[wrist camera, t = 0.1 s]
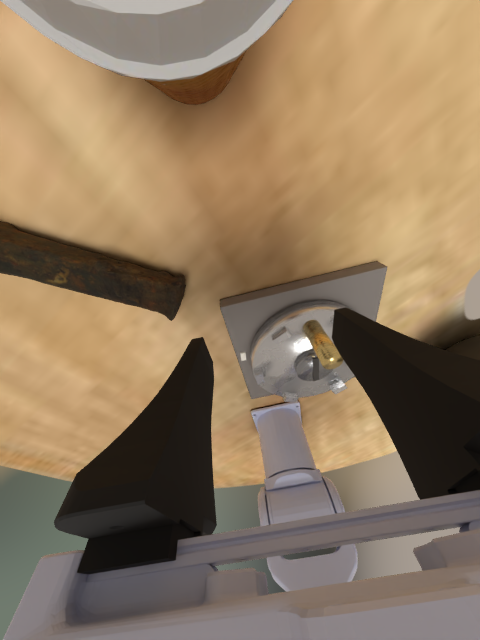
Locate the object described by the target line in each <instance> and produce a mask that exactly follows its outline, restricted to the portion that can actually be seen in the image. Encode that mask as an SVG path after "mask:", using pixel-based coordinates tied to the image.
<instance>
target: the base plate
mask: <svg viewBox="0 0 480 640" xmlns="http://www.w3.org/2000/svg"><path fill="white" fill-rule="evenodd" d="M386 271H387V266H385V265H383V264H381V263H379V262H378V261H376V262H372V263H368V264H364V265H360V266H355V267H351V268H347V269H343V270H339V271H335V272H331V273H327V274H323V275H319V276H315V277H311V278H307V279H303V280H299V281H295V282H291V283H287V284H283V285H279V286H274V287H270V288H266V289H262V290H258V291H254V292H250V293H246V294H242V295H238V296H234V297H230V298H226V299H222V300H220V309H221V312H222V315H223V318H224V321H225V324H226V327H227V329H228V332H229V335H230V338H231V341H232V344H233V347H234V350H235V353H236V356H237V359H238V361H239V364H240V367H241V370H242V373H243V376H244V379H245V382H246V385H247V388H248V390H249V393H250V396H251V399H255V398H259V397H264V396H269V395H273V394H272V393H270V392H268V391H266V390H265V389H264V388H262V387H261V386H260V385H258V384H257V381H256V379H255V377H254V374H253V369H252V363H251V357H250V350H251V345H252V342H253V339H254V337H255V336H256V334H257V332H258V331H259V330H260V328H261V327H262V326H263V325H264V324H265V323H266V322H267V321H268V320H269V319H270V318H272V317H273V316H275V315H276V314H278V313H279V312H281V311H283V310H285V309H286V308H289V307H291V306H294V305H297V304H300V303H304V302H309V301H318V300H323V301H333V302H337V303H340V304H343V305H345V306H347V307H349V308H350V309H352V310H353V311H355V312H357V313H359V314H361V315H363V316H365V317H367V318H369V319H371V320H373V321H375V322H376V318H377V313H378V309H379V304H380V299H381V294H382V290H383V285H384V280H385V275H386ZM354 377H355V376H354ZM352 378H353V377H352Z"/></svg>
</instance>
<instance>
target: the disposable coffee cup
mask: <svg viewBox="0 0 480 640" xmlns="http://www.w3.org/2000/svg"><path fill="white" fill-rule="evenodd" d="M0 1H1V2H3V3H4V4H5V5H6V6H8V7H9V8H10V9H11V10H13V11H14V12H15V13H16V14H18V15H19V16H20V17H21V18H23V19H24V20H25V21H26V22H28V23H29V24H30V25H31V26H33V27H34V28H35V29H36V30H38V31H39V32H40V33H41V34H43V35H44V36H46V37H47V38H49V39H51V40H52V41H54V42H55V43H57V44H59V45H60V46H62V47H64V48H65V49H67V50H69V51H70V52H72V53H74V54H75V55H77V56H78V57H80V58H82V59H85V60H87V61H89V62H91V63H94V64H96V65H98V66H100V67H103V68H105V69H107V70H110V71H112V72H114V73H117V74H119V75H122V76H127V77H134V78H140V79H144V80H145V81H147V82H149V83H150V84H152V85H153V86H155V87H156V88H158V89H159V90H161V91H162V92H164V93H165V94H166V95H168V96H169V97H171V98H172V99H174V100H177V101H179V102H182V103H185V104H202V103H205V102H207V101H210V100H212V99H214V98H215V97H216V96H217V95H218V94H219V93H221V92H222V91H223V89H224V88H225V87H226V85H227V84H228V83H229V81H230V79H231V77H232V75H233V73H234V72H235V70H236V68H237V66H238V65H239V63H240V61H241V60H242V58H243V56H244V54H245V52H246V50H247V49H248V48H249V47H250V46H251V45H253V44H254V43H255V42H256V41H257V40H258V39H259V38H260V37H261V36H262V35H263V34H265V33H266V32H267V31H268V30H269V29H270V28H271V27H272V26H273V25H274V24H275V23H276V22H277V21H278V20H279V19H280V18H281V17H282V15H283V14H284V12H285V11H286V10H287V8H288V7H289V5H290V4H291V3H292V1H293V0H0Z"/></svg>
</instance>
